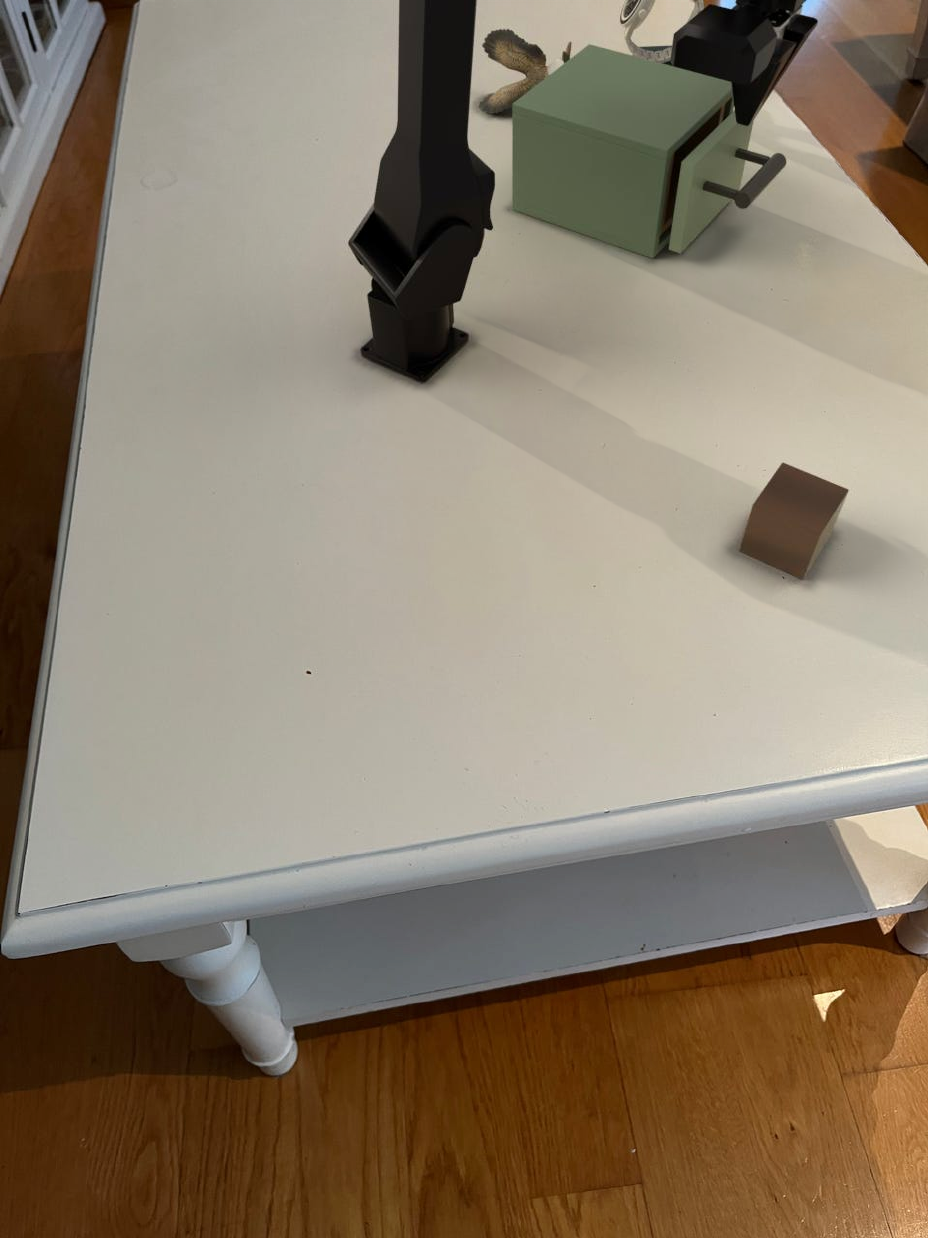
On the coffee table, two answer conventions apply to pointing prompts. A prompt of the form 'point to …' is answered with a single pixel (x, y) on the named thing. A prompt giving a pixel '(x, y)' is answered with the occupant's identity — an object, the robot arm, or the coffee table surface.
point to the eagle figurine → (517, 67)
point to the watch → (633, 16)
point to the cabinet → (607, 143)
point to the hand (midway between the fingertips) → (744, 122)
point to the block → (792, 520)
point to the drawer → (712, 177)
